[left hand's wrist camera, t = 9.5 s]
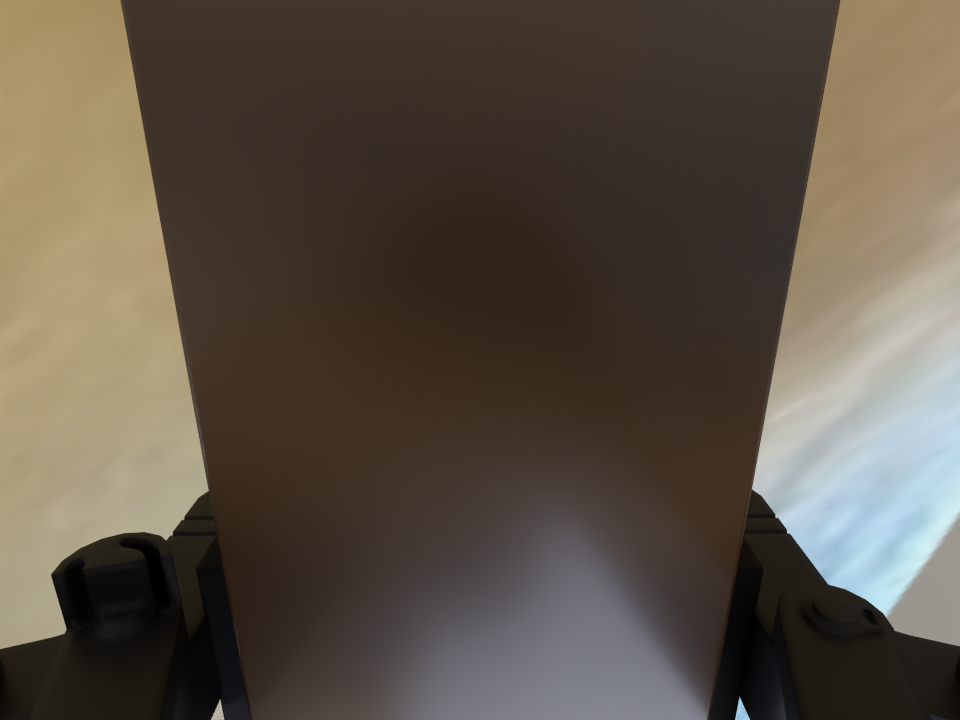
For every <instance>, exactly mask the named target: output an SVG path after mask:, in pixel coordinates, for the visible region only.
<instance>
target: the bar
mask: <svg viewBox="0 0 960 720" xmlns="http://www.w3.org/2000/svg"><path fill="white" fill-rule="evenodd" d="M839 4H840V0H121V5H122V10H123V16H124V21H125V27H126V32H127V38H128V43H129V49H130V55H131V60H132V66H133V71H134V77H135V82H136V88H137V94H138V99H139V105H140V110H141V116H142V121H143V127H144V132H145V138H146V144H147V149H148V155H149V160H150V166H151V171H152V177H153V183H154V188H155V194H156V199H157V205H158V210H159V216H160V222H161V227H162V233H163V238H164V244H165V249H166V255H167V260H168V266H169V272H170V277H171V283H172V288H173V294H174V299H175V305H176V311H177V316H178V322H179V327H180V333H181V338H182V344H183V349H184V355H185V361H186V366H187V372H188V377H189V383H190V388H191V394H192V400H193V405H194V411H195V416H196V422H197V427H198V433H199V439H200V444H201V450H202V455H203V461H204V466H205V472H206V477H207V483H208V489H209V494H210V500H211V505H212V511H213V516H214V522H215V528H216V533H217V539H218V544H219V550H220V555H221V561H222V566H223V572H224V578H225V583H226V589H227V594H228V600H229V605H230V611H231V617H232V622H233V628H234V633H235V639H236V644H237V650H238V656H239V661H240V667H241V672H242V678H243V683H244V689H245V694H246V700H247V706H248V711H249V717H250V720H710V717H711V712H712V706H713V701H714V695H715V689H716V684H717V678H718V673H719V667H720V662H721V656H722V651H723V645H724V640H725V634H726V629H727V623H728V618H729V612H730V607H731V601H732V596H733V590H734V585H735V579H736V573H737V568H738V562H739V557H740V551H741V546H742V540H743V535H744V529H745V524H746V518H747V513H748V507H749V502H750V496H751V491H752V485H753V480H754V474H755V468H756V463H757V457H758V452H759V446H760V441H761V435H762V430H763V424H764V419H765V413H766V408H767V402H768V397H769V391H770V386H771V380H772V375H773V369H774V363H775V358H776V352H777V347H778V341H779V336H780V330H781V325H782V319H783V314H784V308H785V303H786V297H787V292H788V286H789V281H790V275H791V270H792V264H793V259H794V253H795V247H796V242H797V236H798V231H799V225H800V220H801V214H802V209H803V203H804V198H805V192H806V187H807V181H808V176H809V170H810V165H811V159H812V154H813V148H814V142H815V137H816V131H817V126H818V120H819V115H820V109H821V104H822V98H823V93H824V87H825V82H826V76H827V71H828V65H829V60H830V54H831V49H832V43H833V37H834V32H835V26H836V21H837V15H838V10H839Z"/></svg>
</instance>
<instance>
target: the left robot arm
mask: <svg viewBox="0 0 960 720" xmlns="http://www.w3.org/2000/svg"><path fill="white" fill-rule="evenodd" d="M51 576H52V580H53V583H54V587H55V590H56V594H57V597H58V600H59V604H60V607H61V611H62V614H63V618H64V621H65V625H66V628H67V630H66V632H65V634H62V635H59V636H56V637H52V638H48V639H44V640H39V641H35V642H30V643H26V644H22V645H17V646H13V647H8V648H4V649H0V720H211V718H212V716H213V714H214V712H215V709H216V707H217V705H218V703H219V700H220V699H221V704H222V709H223V714H224V720H250V717H249V711H248V706H247V700H246V694H245V689H244V683H243V678H242V672H241V667H240V661H239V656H238V650H237V644H236V639H235V633H234V628H233V622H232V617H231V611H230V605H229V600H228V594H227V589H226V583H225V578H224V572H223V566H222V561H221V555H220V550H219V544H218V539H217V533H216V528H215V522H214V516H213V511H212V505H211V500H210V494H209V491H208V492H207V493H205V494H204V495H202V496H201V497H199V498H198V499H197V501H196V502H195V503H194V505H193V506H192V507H191V509H190V510H189V511H188V513H187V514H186V515H185V519H184V520H182V521H181V522H180V523H179V525H178V526H177V527H176V529H175V530H174V531H173V536H170V537H169V538H168V539H167V541H166V540H165V539H164V538H162V537H161V536H159V535H155V534H150V533H146V532H140V533H124V534H120V535H116V536H112V537H108V538H104V539H101V540H98V541H96V542H94V543H92V544H89V545H87V546H85V547H82V548H80V549H79V550H77V551H76V552H74V553H73V554H72V555H70V556H69V557H67V558H66V559H64V560H63V561H62V562H61V563H60V564H59V566H58V567H57V568H56V569H55V571H54V572H53V573H52V574H51ZM739 696H740V698H741V701H742V703H743V705H744V707H745V709H746V712H747V714H748V716H749V718H750V720H960V646H955V645H950V644H946V643H942V642H937V641H933V640H928V639H924V638H919V637H915V636H910V635H907V634H903V633H900V632H897V631H894V629H893V627H892V626H891V624H890V623H889V621H888V620H887V618H886V617H885V616H884V614H883V613H882V612H881V611H879V610H878V609H877V608H876V607H874V606H873V605H872V604H871V603H869V602H868V601H867V600H865V599H863V598H861V597H859V596H857V595H855V594H853V593H851V592H849V591H847V590H845V589H842V588H838V587H835V586H831V585H828V584H827V582H826V581H825V580H824V578H823V577H822V576H821V574H820V573H819V572H818V571H817V569H816V568H815V567H814V565H813V564H812V563H811V561H810V560H809V559H808V557H807V556H806V555H805V553H804V552H803V551H802V549H801V548H800V547H799V545H798V544H797V543H796V541H795V540H794V539H793V537H792V536H791V535H790V534H787V529H786V528H785V527H784V525H783V524H782V523H781V521H780V520H779V519H778V518H775V513H774V512H773V511H772V509H771V508H770V507H769V505H768V504H767V503H766V501H765V500H764V499H763V497H762V496H761V495H759V494H758V493H756V492H755V491H753V490H752V491H751V496H750V502H749V507H748V513H747V518H746V524H745V529H744V535H743V540H742V546H741V551H740V557H739V562H738V568H737V573H736V579H735V585H734V590H733V596H732V601H731V607H730V612H729V618H728V623H727V629H726V634H725V640H724V645H723V651H722V656H721V662H720V667H719V673H718V678H717V684H716V689H715V695H714V701H713V706H712V712H711V717H710V720H735V717H736V712H737V706H738V701H739Z"/></svg>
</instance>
